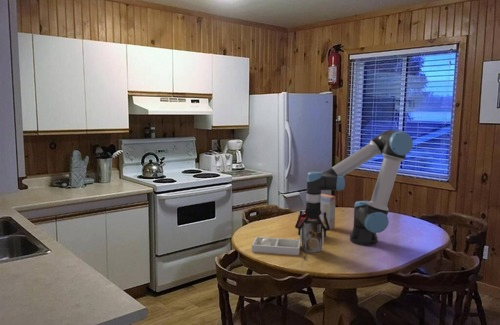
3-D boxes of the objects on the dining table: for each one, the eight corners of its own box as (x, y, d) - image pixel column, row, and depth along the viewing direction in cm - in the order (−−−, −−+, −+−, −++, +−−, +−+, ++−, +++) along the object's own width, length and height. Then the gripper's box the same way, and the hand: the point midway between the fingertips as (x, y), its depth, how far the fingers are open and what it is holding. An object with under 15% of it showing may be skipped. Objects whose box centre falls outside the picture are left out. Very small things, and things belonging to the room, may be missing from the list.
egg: (271, 246, 224) (271, 237, 224) (269, 250, 219) (269, 240, 219) (261, 245, 225) (261, 236, 225) (260, 249, 220) (260, 239, 219)
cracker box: (334, 228, 260) (336, 195, 257) (329, 230, 256) (330, 197, 253) (316, 223, 270) (317, 192, 267) (311, 225, 266) (311, 193, 263)
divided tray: (300, 247, 226) (300, 239, 225) (298, 256, 213) (299, 248, 212) (256, 244, 230) (256, 236, 230) (251, 253, 217) (251, 245, 216)
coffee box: (317, 247, 226) (318, 218, 224) (322, 251, 220) (323, 222, 218) (301, 249, 224) (302, 219, 222) (305, 253, 218) (306, 223, 215)
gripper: (336, 200, 220) (334, 241, 223) (291, 198, 224) (290, 238, 227) (336, 204, 212) (334, 246, 216) (290, 201, 216) (289, 242, 220)
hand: (311, 241), depth 221 cm, fingers closed on coffee box, 11 cm apart
